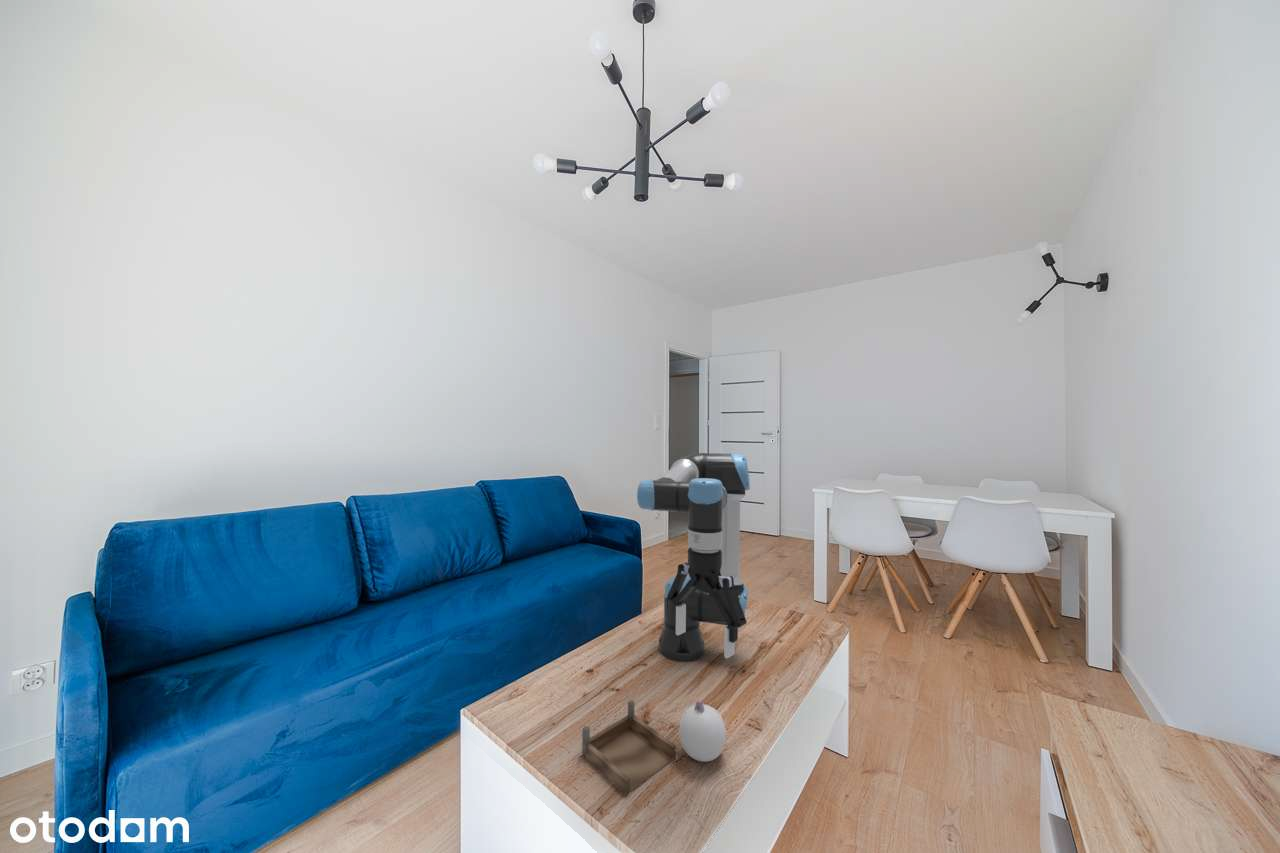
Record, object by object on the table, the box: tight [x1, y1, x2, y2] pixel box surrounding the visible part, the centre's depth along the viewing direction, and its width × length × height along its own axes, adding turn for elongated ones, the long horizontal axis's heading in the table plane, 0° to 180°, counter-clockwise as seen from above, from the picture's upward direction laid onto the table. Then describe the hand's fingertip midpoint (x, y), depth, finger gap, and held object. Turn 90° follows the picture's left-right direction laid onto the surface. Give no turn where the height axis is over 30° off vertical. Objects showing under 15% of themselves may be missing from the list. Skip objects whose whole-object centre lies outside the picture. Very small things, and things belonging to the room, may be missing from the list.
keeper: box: [581, 700, 677, 796], centre depth 95 cm, size 15×15×6 cm
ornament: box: [678, 699, 727, 763], centre depth 96 cm, size 10×10×12 cm
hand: (703, 644), depth 96 cm, fingers open, 13 cm apart
